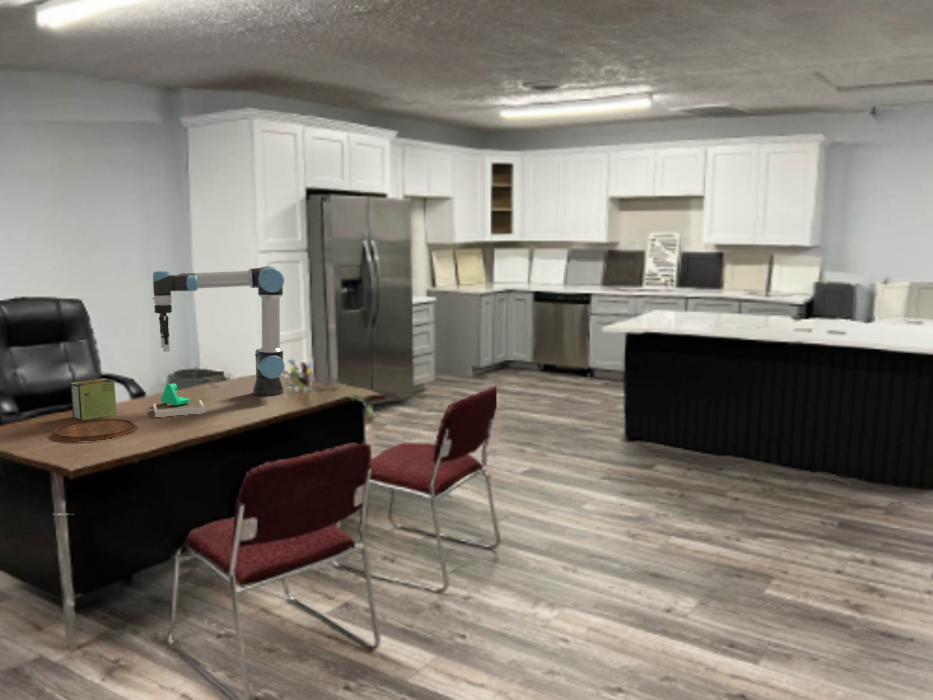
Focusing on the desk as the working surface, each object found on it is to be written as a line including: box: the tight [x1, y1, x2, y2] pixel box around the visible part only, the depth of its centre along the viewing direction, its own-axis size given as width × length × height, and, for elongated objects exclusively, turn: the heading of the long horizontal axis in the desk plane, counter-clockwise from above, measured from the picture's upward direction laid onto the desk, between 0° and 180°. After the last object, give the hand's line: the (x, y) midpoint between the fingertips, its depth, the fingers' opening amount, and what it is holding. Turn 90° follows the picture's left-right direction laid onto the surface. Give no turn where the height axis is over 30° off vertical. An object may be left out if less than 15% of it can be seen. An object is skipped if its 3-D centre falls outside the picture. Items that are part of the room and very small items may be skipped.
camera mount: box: [160, 382, 191, 406], centre depth 371 cm, size 12×8×10 cm, turn 58°
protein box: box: [69, 378, 117, 421], centre depth 346 cm, size 10×15×16 cm
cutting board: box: [51, 418, 139, 443], centre depth 318 cm, size 32×32×2 cm
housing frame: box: [152, 399, 206, 418], centre depth 355 cm, size 21×16×3 cm
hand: (165, 349), depth 364 cm, fingers open, 13 cm apart
